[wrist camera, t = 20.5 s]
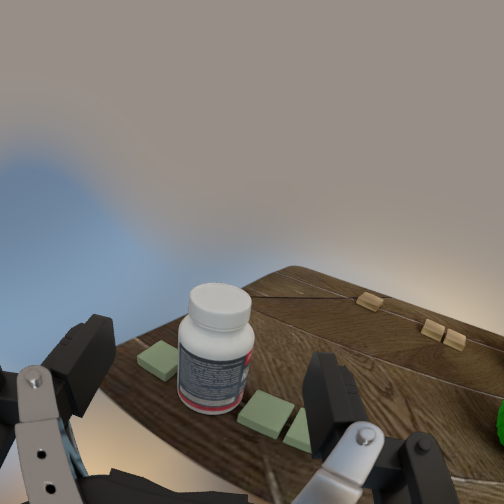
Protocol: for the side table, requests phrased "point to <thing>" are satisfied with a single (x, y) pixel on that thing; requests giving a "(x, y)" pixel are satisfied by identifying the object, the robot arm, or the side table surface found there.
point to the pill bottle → (214, 348)
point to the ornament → (501, 423)
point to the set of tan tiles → (428, 329)
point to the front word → (254, 412)
